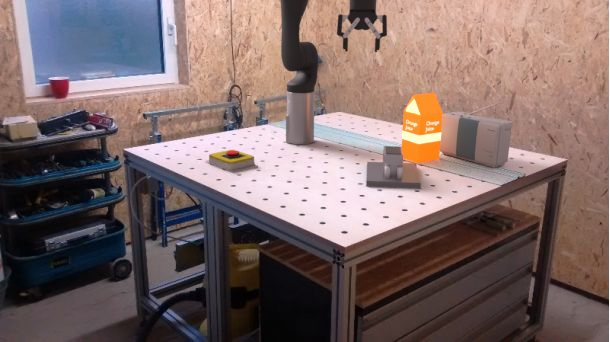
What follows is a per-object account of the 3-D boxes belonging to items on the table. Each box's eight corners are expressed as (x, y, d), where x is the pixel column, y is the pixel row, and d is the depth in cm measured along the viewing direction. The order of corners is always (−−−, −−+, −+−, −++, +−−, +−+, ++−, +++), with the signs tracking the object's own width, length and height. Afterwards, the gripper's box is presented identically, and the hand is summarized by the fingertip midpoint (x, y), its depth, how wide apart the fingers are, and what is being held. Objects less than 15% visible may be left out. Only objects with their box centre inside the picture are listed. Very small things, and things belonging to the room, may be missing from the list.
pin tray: (366, 186, 145) (366, 169, 144) (367, 166, 162) (367, 151, 161) (420, 188, 143) (421, 171, 142) (415, 168, 160) (416, 153, 159)
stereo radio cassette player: (436, 154, 175) (441, 91, 170) (453, 150, 180) (459, 88, 174) (494, 170, 160) (501, 101, 154) (510, 165, 164) (518, 98, 158)
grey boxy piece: (383, 176, 148) (384, 153, 146) (382, 166, 157) (383, 145, 155) (402, 176, 148) (403, 154, 146) (400, 167, 156) (401, 146, 154)
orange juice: (439, 159, 170) (444, 94, 164) (417, 163, 165) (422, 96, 159) (421, 153, 176) (426, 90, 170) (400, 157, 172) (404, 92, 166)
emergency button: (232, 159, 155) (203, 149, 165) (233, 174, 156) (203, 163, 166) (258, 153, 161) (228, 144, 171) (259, 168, 162) (229, 157, 172)
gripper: (337, -8, 154) (335, 52, 159) (389, -7, 152) (386, 53, 157) (338, -7, 161) (337, 50, 166) (388, -7, 159) (385, 50, 164)
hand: (361, 51), depth 161 cm, fingers open, 8 cm apart
